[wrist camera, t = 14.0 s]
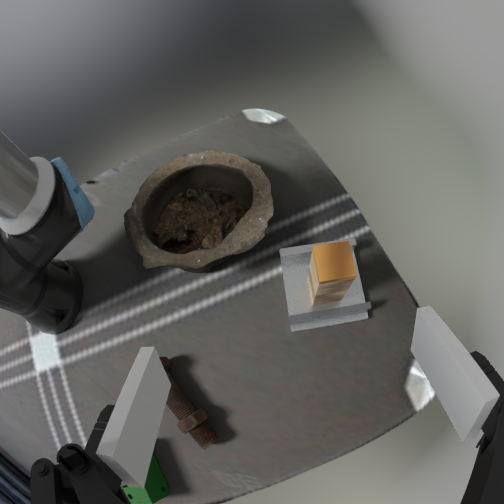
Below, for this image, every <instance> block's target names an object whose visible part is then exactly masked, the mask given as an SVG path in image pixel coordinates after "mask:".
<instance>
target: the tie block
mask: <svg viewBox="0 0 504 504" xmlns="http://www.w3.org/2000/svg"><path fill="white" fill-rule="evenodd" d="M356 277H357V273H356V269H355V264H354V260H353V256H352V252H351V248H350V244H349V241H343V242H337V243H330V244H323V245H316V246H313V248H312V254H311V260H310V266H309V272H308V283H309V289H310V295H311V300H312V306H313V305H319V304H325V303H331V302H337V301H341V300H342V299H343V297H344V296H345V294H346V292H347V291H348V289H349V288H350V286H351V285H352V283H353V281H354V280H355V278H356Z"/></svg>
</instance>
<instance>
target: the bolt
mask: <svg viewBox="0 0 504 504" xmlns="http://www.w3.org/2000/svg"><path fill="white" fill-rule="evenodd" d="M159 358H160V361H161V363H162V365H163V367H164V370H165V372H166V374H167V376H168V379H169V381H170V383H171V388H170V391H169V395H168V398H167V402H166V404H167V406H168V407H170V409H171V411H173V412H172V413H174V414H175V416H177V418H178V420H180V421H179V423H177V426H178V428H179V429H180V430H181V432H182V433H184V434H186V433H187V432H190V433H189V434H191V436H192V437H194V439H195V441H197V443H198V444H200V446H201V448H203V449H206V448H208V447H209V446H211V445H213V444H214V443H215V442H216V441H218V438H219V436H217V435H216V433H214V432H213V430H211V429H212V428H210V426H209V425H207V423H205V422H206V421H205V420H206V419H208V415H207V414H206V413H205V411H204V410H203V409H198V410H196V409H194V408H195V407H193V406H192V404H190V402H189V400H187V399H188V398H186V397H185V395H183V394H184V393H182V391H181V389H180V388H178V386H177V384H176V382H174V380H173V378H172V376H171V375H170V373H169V372H168V369H169V368H170V364H171V363H170V361H169V360H168V358H167V357H159ZM179 389H180V390H179Z"/></svg>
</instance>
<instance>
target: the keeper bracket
mask: <svg viewBox="0 0 504 504" xmlns="http://www.w3.org/2000/svg"><path fill="white" fill-rule="evenodd" d="M343 241H349V244H350V248H351V252H352V256H353V260H354V264H355V269H356V273H357V277H356V278H355V280H354V281H353V283H352V285H351V286H350V288H349V289H348V291H347V292H346V294H345V296H344V297H343V299H342V300H341V301H337V302H331V303H325V304H319V305H313V306H312V300H311V295H310V289H309V283H308V272H309V266H310V260H311V254H312V248H313V246H316V245H323V244H330V243H337V242H343ZM356 245H357V244H356V240H355V238H350V239H344V240H337V241H330V242H323V243H316V244H309V245H303V246H296V247H289V248H282V249H279V250H280V251H279V253H280V260H281V266H282V273H283V280H284V286H285V293H286V300H287V307H288V314H289V321H290V328H291V333H292V332H298V331H305V330H311V329H317V328H323V327H329V326H335V325H340V324H346V323H351V322H356V321H361V320H366V319H368V313H367V312H368V311H369V310H370V309H371V304H370V302H366V303H365V298H364V293H363V288H362V284H361V279H360V275H359V271H358V266H357V262H356V258H355V254H354V250H355V247H356Z"/></svg>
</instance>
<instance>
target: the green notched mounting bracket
mask: <svg viewBox="0 0 504 504" xmlns="http://www.w3.org/2000/svg"><path fill="white" fill-rule="evenodd" d="M121 488H122V489H123V490H124V492H125V494H126V496H127V497H128V499H129V501H130V502H131V503H136V504H153V503H155V502H157V501H159V500H161V499H162V498H164V497H166V496H167V495H168V494H169V488H168V485H167V483H166V481H165V479H164V476H163V474H162V472H161V469H160V467H159V464H158V462H157V460H156V457H155V455H154V452H153V454H152V458H151V461H150V465H149V469H148V473H147V477H146V481H145V486H144V488H137V487H131V486H127V485H125V486H123V487H121Z"/></svg>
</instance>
